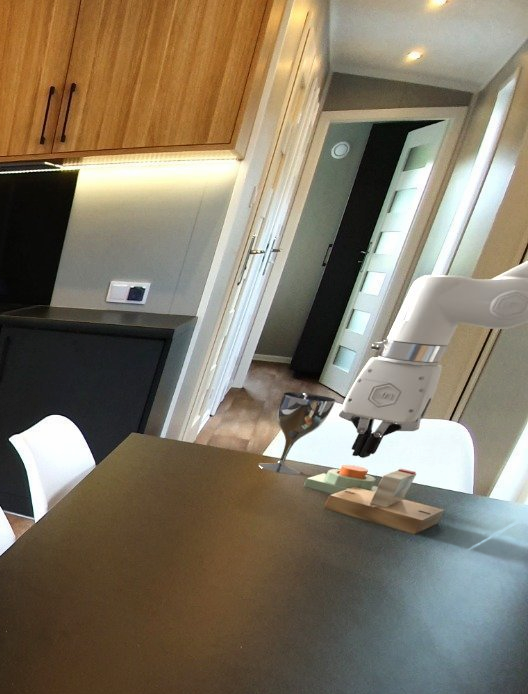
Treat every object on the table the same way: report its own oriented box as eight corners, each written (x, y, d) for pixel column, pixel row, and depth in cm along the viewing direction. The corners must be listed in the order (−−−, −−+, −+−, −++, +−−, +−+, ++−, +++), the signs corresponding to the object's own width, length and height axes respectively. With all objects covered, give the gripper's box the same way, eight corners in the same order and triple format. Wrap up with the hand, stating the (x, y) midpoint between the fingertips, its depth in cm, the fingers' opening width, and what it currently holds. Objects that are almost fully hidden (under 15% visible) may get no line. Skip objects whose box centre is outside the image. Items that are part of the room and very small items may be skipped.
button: (367, 478, 117) (371, 469, 117) (359, 481, 116) (363, 472, 115) (343, 472, 120) (347, 463, 119) (334, 475, 118) (338, 466, 118)
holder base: (438, 522, 107) (446, 508, 106) (413, 535, 102) (421, 519, 101) (349, 498, 116) (355, 485, 115) (321, 508, 111) (328, 494, 110)
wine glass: (300, 467, 132) (331, 396, 126) (306, 477, 126) (339, 403, 120) (253, 460, 136) (281, 390, 130) (257, 469, 130) (286, 397, 124)
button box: (385, 498, 117) (394, 480, 115) (369, 504, 114) (379, 486, 112) (319, 481, 125) (327, 464, 123) (303, 486, 122) (310, 469, 120)
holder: (386, 507, 105) (401, 478, 103) (369, 503, 107) (384, 473, 105) (402, 500, 109) (417, 472, 106) (385, 496, 110) (400, 468, 108)
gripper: (346, 347, 112) (302, 446, 120) (464, 362, 101) (406, 471, 108) (364, 345, 116) (320, 442, 124) (479, 359, 104) (423, 465, 112)
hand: (360, 455), depth 116 cm, fingers closed
